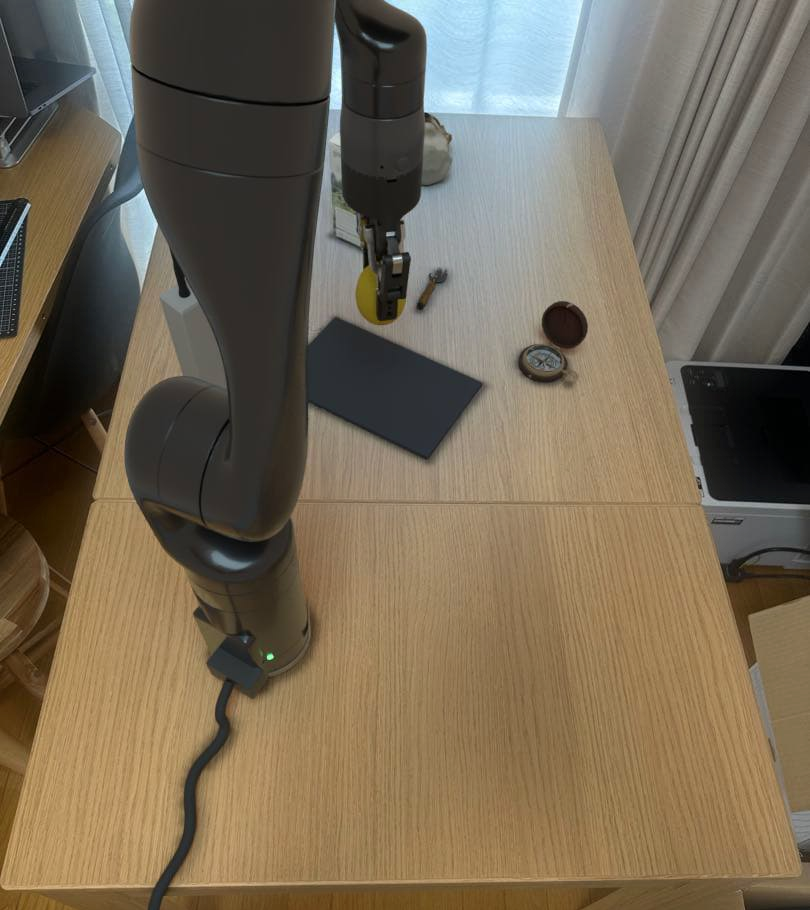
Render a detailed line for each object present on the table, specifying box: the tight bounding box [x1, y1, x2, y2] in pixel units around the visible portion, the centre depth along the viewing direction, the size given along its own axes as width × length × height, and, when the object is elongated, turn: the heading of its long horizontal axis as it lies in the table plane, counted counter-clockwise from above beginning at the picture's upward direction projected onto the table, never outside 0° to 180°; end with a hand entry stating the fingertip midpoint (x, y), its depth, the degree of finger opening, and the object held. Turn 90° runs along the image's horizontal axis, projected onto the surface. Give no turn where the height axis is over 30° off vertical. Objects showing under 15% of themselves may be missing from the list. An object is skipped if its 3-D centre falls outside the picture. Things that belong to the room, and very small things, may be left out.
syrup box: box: [328, 130, 361, 248], centre depth 102 cm, size 6×6×14 cm
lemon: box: [354, 265, 407, 326], centre depth 81 cm, size 6×6×8 cm
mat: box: [308, 316, 483, 461], centre depth 92 cm, size 14×22×1 cm, turn 60°
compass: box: [518, 300, 589, 382], centre depth 93 cm, size 8×8×7 cm
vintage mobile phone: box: [159, 248, 227, 389], centre depth 79 cm, size 4×5×25 cm
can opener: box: [416, 267, 449, 310], centre depth 102 cm, size 9×2×1 cm, turn 153°
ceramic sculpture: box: [421, 111, 453, 186], centre depth 114 cm, size 11×9×15 cm
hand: (380, 298), depth 81 cm, fingers closed on lemon, 5 cm apart
